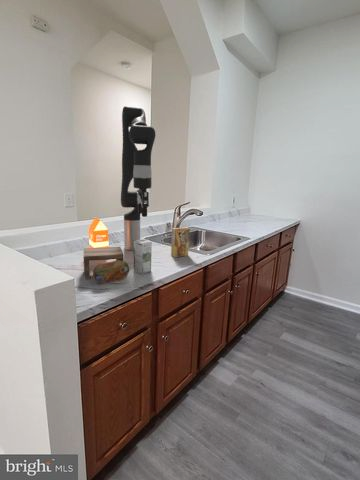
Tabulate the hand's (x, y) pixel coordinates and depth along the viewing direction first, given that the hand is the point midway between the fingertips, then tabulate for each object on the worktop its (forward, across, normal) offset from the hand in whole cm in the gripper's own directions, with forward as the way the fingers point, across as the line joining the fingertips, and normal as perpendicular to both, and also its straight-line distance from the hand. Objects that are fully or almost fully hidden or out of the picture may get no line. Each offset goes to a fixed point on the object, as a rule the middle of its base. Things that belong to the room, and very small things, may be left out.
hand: (142, 214), depth 119 cm
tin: (+26, +8, -14) cm, 31 cm away
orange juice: (+26, -28, -18) cm, 42 cm away
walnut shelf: (+26, -2, -17) cm, 31 cm away
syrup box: (+26, 0, 0) cm, 26 cm away
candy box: (+26, -19, +24) cm, 40 cm away
